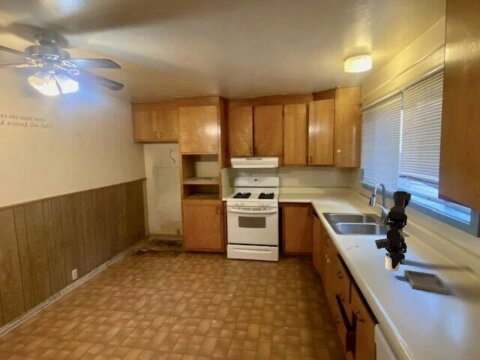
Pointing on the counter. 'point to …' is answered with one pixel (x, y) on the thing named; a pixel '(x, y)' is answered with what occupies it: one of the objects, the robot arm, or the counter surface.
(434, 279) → the tray
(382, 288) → the counter surface
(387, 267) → the cream cup
